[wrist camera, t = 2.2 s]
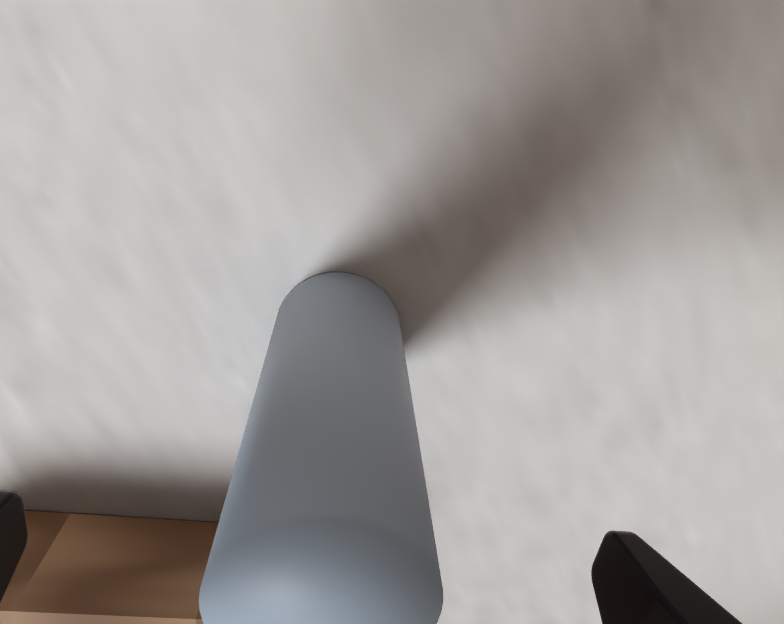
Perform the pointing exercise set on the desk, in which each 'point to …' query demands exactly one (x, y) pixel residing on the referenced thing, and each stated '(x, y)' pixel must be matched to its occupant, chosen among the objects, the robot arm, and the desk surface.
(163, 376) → the desk surface
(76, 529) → the socket station
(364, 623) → the peg
